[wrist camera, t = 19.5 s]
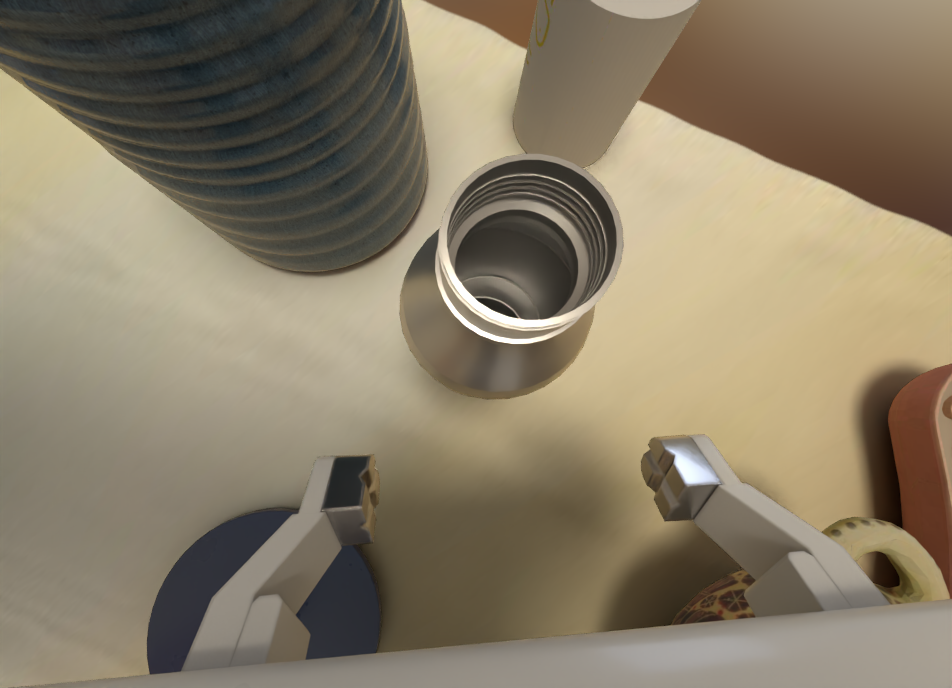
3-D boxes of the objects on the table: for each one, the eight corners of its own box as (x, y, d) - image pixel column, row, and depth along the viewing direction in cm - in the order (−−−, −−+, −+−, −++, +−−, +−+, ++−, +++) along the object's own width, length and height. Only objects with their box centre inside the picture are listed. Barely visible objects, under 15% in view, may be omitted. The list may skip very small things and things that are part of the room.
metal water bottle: (536, 367, 27) (761, 300, 7) (454, 413, 26) (460, 475, 7) (494, 291, 28) (596, 38, 8) (412, 333, 27) (299, 171, 7)
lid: (156, 752, 23) (59, 871, 17) (166, 514, 24) (80, 551, 19) (386, 724, 24) (366, 827, 18) (380, 497, 25) (359, 526, 20)
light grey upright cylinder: (552, 58, 31) (615, -154, 19) (632, 117, 30) (747, -60, 18) (492, 128, 29) (519, -51, 18) (575, 190, 29) (659, 50, 17)
